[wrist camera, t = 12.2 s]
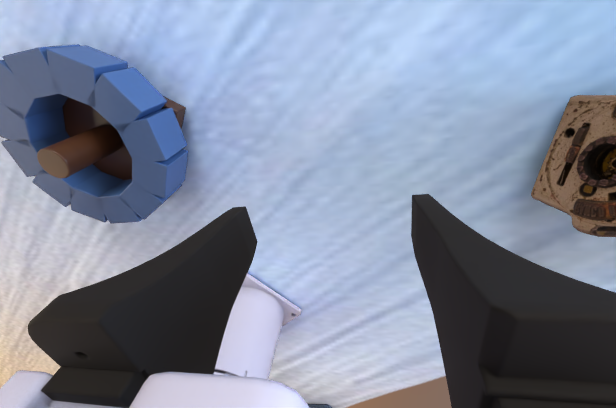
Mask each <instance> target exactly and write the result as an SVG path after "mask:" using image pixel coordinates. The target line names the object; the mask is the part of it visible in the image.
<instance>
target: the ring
mask: <svg viewBox="0 0 616 408" xmlns="http://www.w3.org/2000/svg"><path fill="white" fill-rule="evenodd" d="M3 58H4V60H0V136H1V137H3V138H6V139H8V140H5V141H2V142H1V143H2V144H3V146H4V147H5V148H6V150H7V151H8V152H9V154H10V155H11V156H12V158H13V159H14V160H15V162H16V163H17V164H18V166H19V167H20V168H21V170H22V171H23V172H24V174H25V175H26V176H27V177H29V176H36V177H35V179H34V180H33V183H34V184H35V185H37V186H38V187H39V188H41V189H42V190H43V191H45V192H46V193H47V194H49V195H50V196H51V197H53V198H54V199H55V200H57V201H58V202H59V203H61V204H62V205H63V206H65V207H67V206H68V205H70V204H71V209H72V211H75V212H78V213H81V214H83V215H86V216H89V217H92V218H94V219H97V220H100V221H103V222H106V221H107V220H109V222H110V223H125V222H139V221H141V220H142V219H146V218H147V217H148V216H149V215H150V214H151V213H152V212H153V211H155V210H156V209H157V208H158V207H159V206H160V205H161V204H162V203H163V202H164V201H166V200H167V199H168V198H169V197H170V196H171V195H172V194H173V193H174V192H175V191H176V190H177V189H179V188H180V187H181V186H182V184H181V183H182V182H183V181H184V180H185V173H186V165H187V157H188V151H187V150H185V149H182V148H184V147H185V146H187V143H186V140H185V138H184V135H183V133H182V131H181V128H180V126H179V123H178V121H177V118H176V116H175V113H174V111H173V109H172V108H166V109H161V108H162V107H163V106H164V105H165V104H166V102H167V100H166V99H165V98H164V97H163V96H162V95H161V94H160V93H159V92H158V91H157V90H156V89H155V88H154V87H153V86H152V85H151V84H150V83H149V82H148V81H147V80H146V79H145V78H144V77H143V76H142V75H141V74H140V73H139V71H138V70H137V69H136V68H134V67H133V68H128V65H127V62H126V61H123V60H121V59H118V58H116V57H113V56H111V55H108V54H106V53H104V52H101V51H99V50H96V49H94V48H91V47H89V46H80V45H66V46H53V47H40V48H35V49H31V50H27V51H22V52H18V53H14V54H10V55H6V56H3ZM68 97H69V98H72V99H74V100H77V101H79V102H82V103H84V104H87V105H89V106H91V107H92V108H94V109H95V110H96V111H97V112H98V113H99V114H100V115H101V116H102V117H103V118H105V119H106V120H107V121H108V122H109V123H110V124H111V125H112V126H113V127H114V128H116V129H117V131H118V133H119V135H120V136H121V138H122V140H123V142H124V144H125V146H126V148H127V150H128V152H129V154H130V155H131V157H132V179H128V180H122V179H120V178H117V177H114V176H112V175H109V174H106V173H104V172H102V171H100V170H99V169H98V168H97V167H96V166H94V165H93V164H91V165H90V166H88V167H86V168H84V169H82V170H80V171H78V172H76V173H74V174H73V175H71V176H69V177H67V178H56V177H54V176H52V175H50V174H49V173H47V172H46V171H45V170H44V169H43V168H42V167H41V165H40V164H39V162H38V159H37V153H38V151H39V150H40V149H42V148H45V147H47V146H50V145H52V144H55V143H57V142H60V141H63V140H65V139H68V138H70V136H69V135H68V133H67V132H66V129H65V122H64V115H63V108H62V107H63V105H64V104H65V102H66V100H67V99H68Z"/></svg>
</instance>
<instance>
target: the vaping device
mask: <svg viewBox="0 0 616 408" xmlns="http://www.w3.org/2000/svg"><path fill="white" fill-rule="evenodd" d="M308 406H309V408H332V407H331V406H329V405H323V404H308Z"/></svg>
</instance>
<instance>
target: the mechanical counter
mask: <svg viewBox="0 0 616 408" xmlns="http://www.w3.org/2000/svg"><path fill="white" fill-rule="evenodd" d="M531 196H532V197H533V198H534V199H536V200H539V201H541V202H543V203H545V204H547V205H549V206H551V207H554V208H556V209H558V210H561V211H563V212H565V213H567V214H569V215H570V216H571V217H572V225H573V227H574V228H576V229H577V230H578V231H580V232H583V233H586V234H590V235H594V236H598V237H616V95H577V96H574V97H571V98H570V100H569V102H568V104H567V106H566V108H565V111H564V113H563V116H562V118H561V121H560V123H559V126H558V128H557V131H556V133H555V135H554V138H553V140H552V142H551V145H550V147H549V150H548V153H547V155H546V157H545V160H544V162H543V164H542V167H541V169H540V172H539V174H538V177H537V179H536V182H535V185H534V187H533V190H532V193H531Z"/></svg>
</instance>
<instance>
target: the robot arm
mask: <svg viewBox="0 0 616 408" xmlns="http://www.w3.org/2000/svg"><path fill="white" fill-rule="evenodd" d="M411 236H412V242H413V248H414V253H415V257H416V261H417V264H418V267H419V270H420V273H421V276H422V279H423V282H424V285H425V288H426V291H427V294H428V297H429V300H430V304H431V307H432V311H433V314H434V319H435V324H436V328H437V333H438V338H439V343H440V348H441V353H442V358H443V363H444V368H445V373H446V379H447V384H448V389H449V395H450V400H451V406H452V408H616V293H614V292H611V291H608V290H605V289H602V288H599V287H596V286H593V285H590V284H587V283H584V282H581V281H578V280H575V279H572V278H570V277H567V276H565V275H562V274H559V273H557V272H554V271H552V270H549V269H547V268H544V267H542V266H540V265H537V264H535V263H533V262H531V261H529V260H526V259H524V258H522V257H520V256H518V255H516V254H514V253H512V252H510V251H508V250H506V249H504V248H502V247H501V246H499V245H497V244H495V243H494V242H492V241H490V240H488V239H487V238H485V237H483V236H482V235H480V234H479V233H477V232H476V231H474V230H473V229H471V228H470V227H468V226H467V225H466V224H464V223H463V222H462V221H460V220H459V219H458V218H456V217H455V216H454V215H452V214H451V213H450V212H449V211H448V210H446V209H445V208H444V207H443V206H442V205H441V204H439V203H438V202H437V201H436V200H435V199H434V198H433V197H431V196H430V195H429V194H422V195H412V229H411ZM256 245H257V239H256V236H255V233H254V230H253V227H252V224H251V221H250V218H249V215H248V212H247V209H246V207H234V208H232V209H230V210H228V211H227V212H225V213H224V214H222V215H221V216H219V217H218V218H216V219H215V220H214V221H212V222H211V223H209V224H208V225H207V226H205V227H204V228H202V229H201V230H199V231H198V232H197V233H195V234H193V235H192V236H190V237H189V238H187V239H186V240H184V241H183V242H181V243H180V244H178V245H177V246H175V247H173V248H172V249H170V250H168V251H166V252H165V253H163V254H161V255H159V256H157V257H156V258H154V259H152V260H150V261H147V262H145V263H143V264H141V265H139V266H137V267H135V268H133V269H131V270H128V271H126V272H124V273H121V274H119V275H117V276H114V277H112V278H109V279H106V280H104V281H101V282H98V283H96V284H93V285H90V286H87V287H84V288H81V289H78V290H75V291H72V292H69V293H66V294H62V295H60V296H58V297H57V298H55V299H54V300H53V301H52V302H51V303H50V304H49V305H48V306H46V307H45V308H44V309H43V310H42V311H41V312H40V313H39V314H38V315H37V316H35V317H34V318H33V319H32V320H31V321H30V323H29V324H28V333H29V335H30V337H31V339H32V340H33V341H34V342H35V343H36V344H37V345H38V346H39V347H40V348H41V349H42V350H43V351H44V352H45V353H46V354H48V355H49V356H50V357H51V358H52V359H53V360H54V361H55V362H56V363H57V364H59V365H60V366H61V367H60V369H59V370H58V371H57V372H56V373H55V374H54V376H53V375H51V374H48V373H45V372H37V371H24V370H20V371H17V372H16V373H15V374H14V375H13V376H12V377H11V378H10V379H9V380H8V381H7V382H6V383H5V384H4V385H3V386H2V387H1V388H0V408H309V406H308V404H307V403H306V402H305V400H304V399H303V398H302V397H301V396H300V394H299V393H298V392H297V391H296V390H294V389H292V388H290V387H288V386H286V385H284V384H282V383H280V382H277V381H272V380H268V378H269V374H270V370H271V366H272V362H273V358H274V354H275V350H276V346H277V342H278V338H279V334H280V330H281V327H282V326H284V325H285V324H287V323H288V322H290V321H291V320H293V319H294V318H296V317H298V316H299V315H300V314H301V309H300V308H299V307H297V306H296V305H294V304H293V303H291V302H290V301H288V300H287V299H285V298H284V297H282V296H281V295H279V294H278V293H276V292H275V291H273V290H272V289H270V288H269V287H267V286H266V285H264V284H263V283H261V282H260V281H258V280H257V279H255V278H254V277H252V276H251V275H249V274H248V273H247V272H248V270H249V268H250V265H251V263H252V260H253V257H254V253H255V250H256Z"/></svg>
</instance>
